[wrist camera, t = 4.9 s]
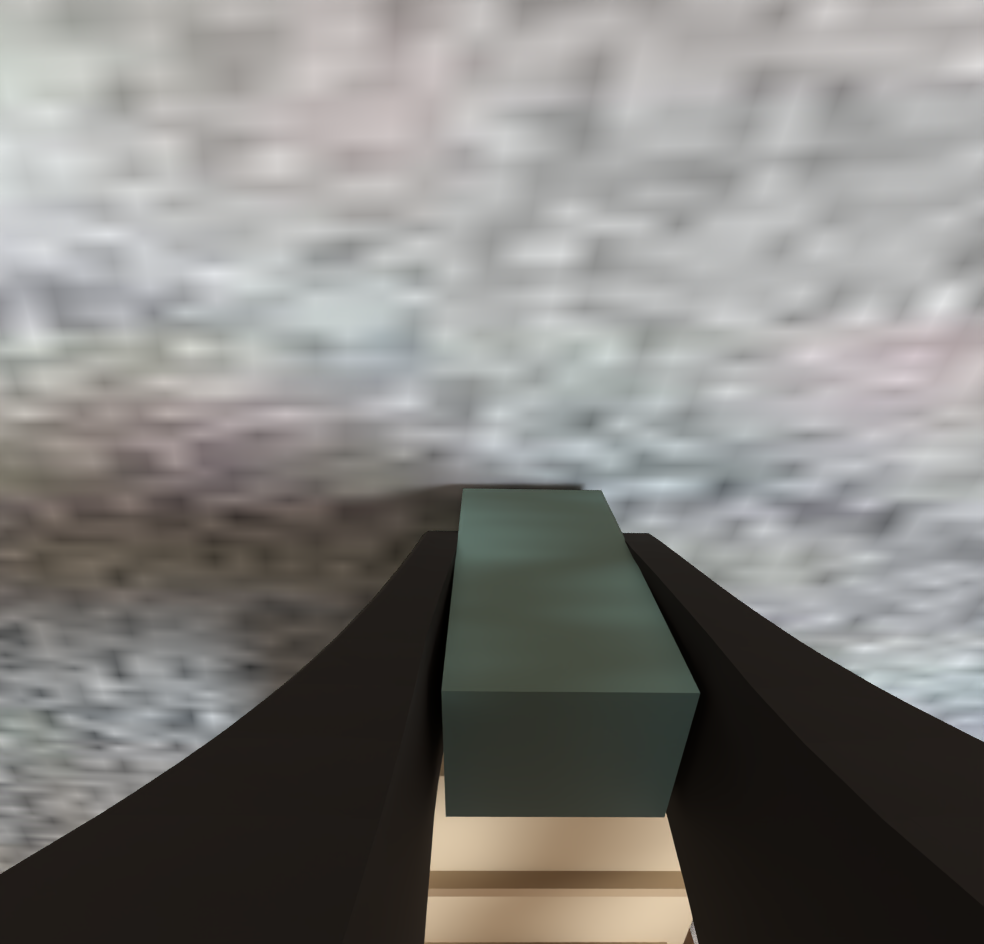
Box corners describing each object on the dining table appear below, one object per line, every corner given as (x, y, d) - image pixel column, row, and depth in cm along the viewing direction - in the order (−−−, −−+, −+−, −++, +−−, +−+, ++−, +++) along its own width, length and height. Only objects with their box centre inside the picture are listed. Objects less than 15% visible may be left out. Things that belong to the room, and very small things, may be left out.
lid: (706, 492, 10) (895, 694, 5) (611, 892, 17) (659, 1136, 12) (356, 486, 10) (239, 689, 5) (401, 892, 17) (367, 1139, 12)
